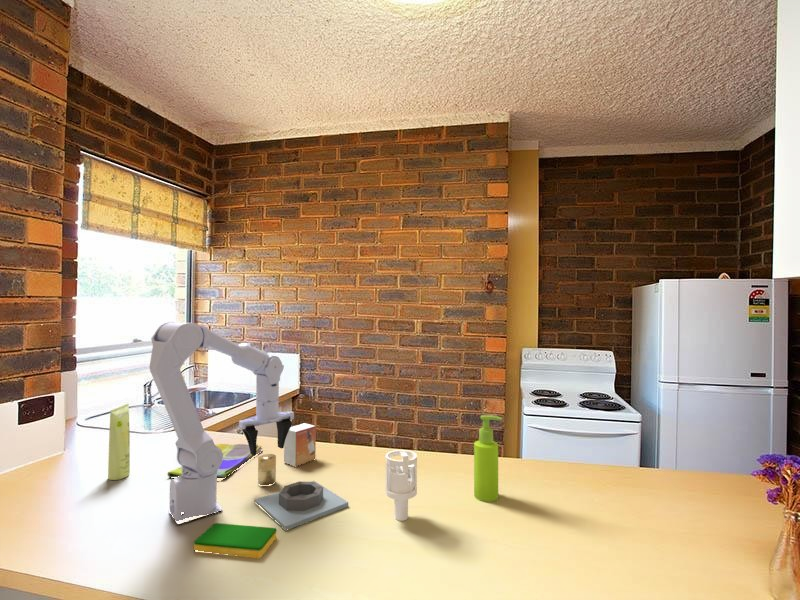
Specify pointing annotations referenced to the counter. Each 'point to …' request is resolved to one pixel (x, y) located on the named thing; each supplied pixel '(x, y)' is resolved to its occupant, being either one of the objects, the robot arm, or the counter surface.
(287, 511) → the ring plate
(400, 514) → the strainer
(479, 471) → the soap dispenser
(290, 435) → the small box
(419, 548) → the counter surface
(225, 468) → the dish towel
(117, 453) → the tube
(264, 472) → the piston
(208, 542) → the dish sponge
